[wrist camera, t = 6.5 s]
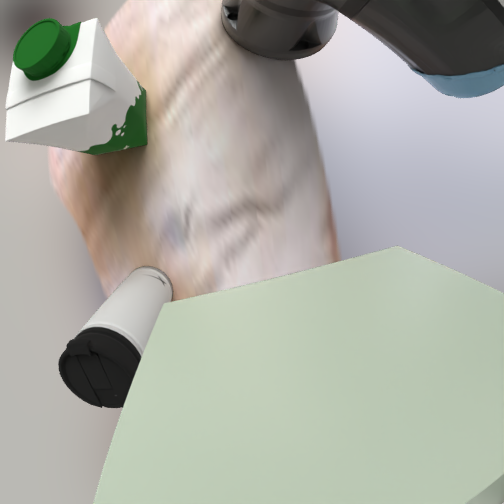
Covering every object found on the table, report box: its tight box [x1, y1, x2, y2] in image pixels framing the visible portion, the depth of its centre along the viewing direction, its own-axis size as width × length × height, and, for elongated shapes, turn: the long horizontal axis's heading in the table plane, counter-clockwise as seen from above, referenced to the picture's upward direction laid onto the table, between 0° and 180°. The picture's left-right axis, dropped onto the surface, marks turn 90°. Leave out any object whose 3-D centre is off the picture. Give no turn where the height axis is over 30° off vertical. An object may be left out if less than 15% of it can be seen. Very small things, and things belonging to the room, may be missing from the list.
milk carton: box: [5, 18, 147, 155], centre depth 21 cm, size 9×9×20 cm
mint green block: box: [93, 246, 504, 504], centre depth 8 cm, size 10×10×10 cm
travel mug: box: [59, 266, 173, 408], centre depth 26 cm, size 6×7×20 cm
